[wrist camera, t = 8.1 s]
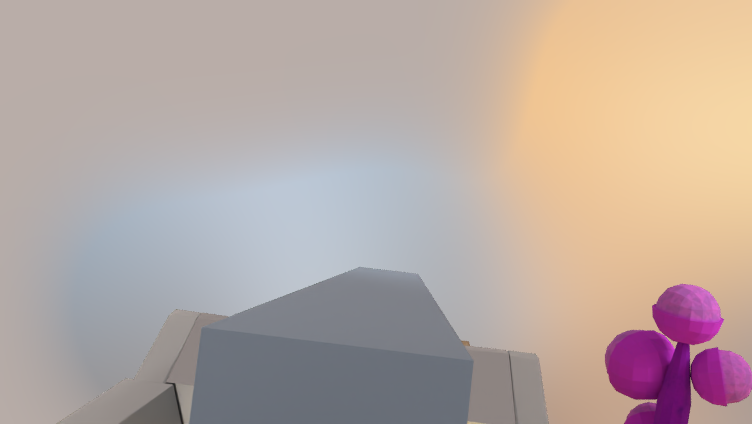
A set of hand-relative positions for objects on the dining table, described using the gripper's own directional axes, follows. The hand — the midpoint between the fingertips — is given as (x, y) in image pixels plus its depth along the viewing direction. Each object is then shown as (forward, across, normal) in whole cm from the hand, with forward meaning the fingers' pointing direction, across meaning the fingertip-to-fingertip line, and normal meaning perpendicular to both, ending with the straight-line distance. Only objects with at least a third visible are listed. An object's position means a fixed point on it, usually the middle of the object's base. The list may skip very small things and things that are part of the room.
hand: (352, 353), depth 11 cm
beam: (+6, 0, +9) cm, 11 cm away
